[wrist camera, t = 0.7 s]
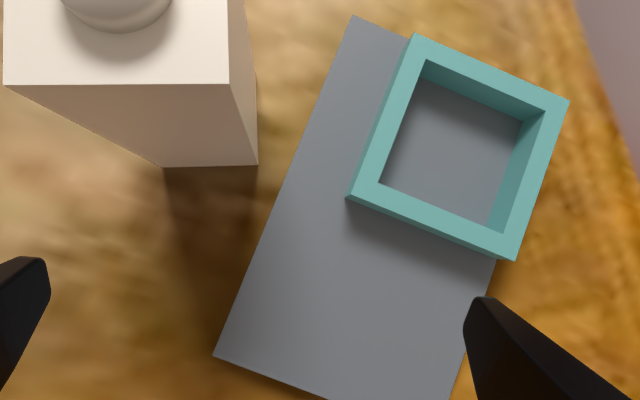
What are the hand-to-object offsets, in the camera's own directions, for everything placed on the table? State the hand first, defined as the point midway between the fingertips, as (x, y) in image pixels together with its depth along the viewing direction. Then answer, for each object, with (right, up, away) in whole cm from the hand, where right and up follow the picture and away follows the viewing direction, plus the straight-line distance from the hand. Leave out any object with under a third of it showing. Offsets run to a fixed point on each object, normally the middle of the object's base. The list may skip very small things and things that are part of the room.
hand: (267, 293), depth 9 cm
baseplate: (+5, +1, +14) cm, 15 cm away
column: (-5, +6, +13) cm, 16 cm away
